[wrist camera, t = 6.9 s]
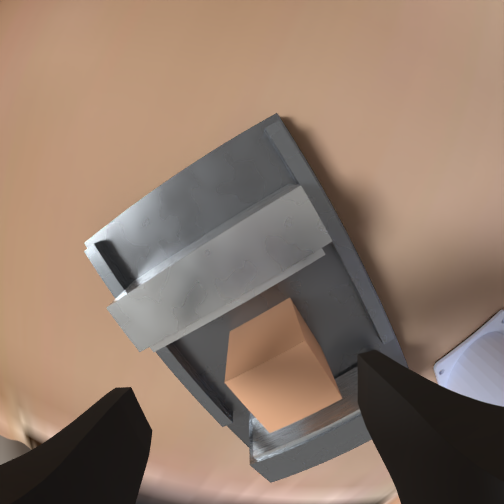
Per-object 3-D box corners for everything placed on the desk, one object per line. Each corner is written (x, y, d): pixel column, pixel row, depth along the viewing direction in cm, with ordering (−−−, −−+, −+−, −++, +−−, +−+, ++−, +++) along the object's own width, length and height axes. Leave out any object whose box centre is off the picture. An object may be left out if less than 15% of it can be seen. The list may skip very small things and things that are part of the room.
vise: (404, 362, 20) (434, 401, 15) (250, 441, 21) (251, 488, 16) (275, 116, 16) (286, 92, 11) (90, 240, 17) (47, 259, 13)
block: (321, 348, 18) (342, 398, 13) (265, 378, 19) (270, 433, 14) (289, 297, 17) (305, 340, 13) (229, 331, 18) (224, 382, 13)
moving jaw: (316, 232, 16) (337, 249, 13) (164, 322, 18) (145, 358, 14) (288, 183, 16) (300, 185, 12) (134, 280, 17) (106, 307, 13)
